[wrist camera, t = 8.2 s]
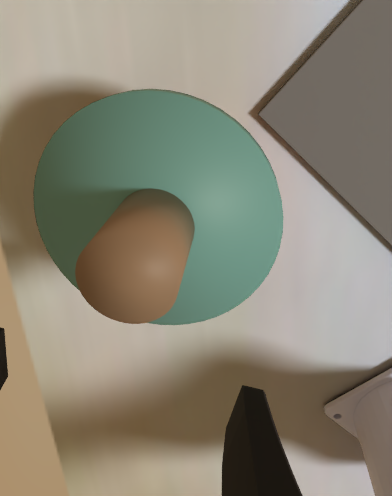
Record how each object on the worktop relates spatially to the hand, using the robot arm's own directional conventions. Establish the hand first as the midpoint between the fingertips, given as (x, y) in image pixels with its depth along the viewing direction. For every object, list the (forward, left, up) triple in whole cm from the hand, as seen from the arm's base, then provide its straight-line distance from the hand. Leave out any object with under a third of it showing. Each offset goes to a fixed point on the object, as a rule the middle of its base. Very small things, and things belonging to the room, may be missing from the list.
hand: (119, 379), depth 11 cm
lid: (+2, -2, -6) cm, 7 cm away
